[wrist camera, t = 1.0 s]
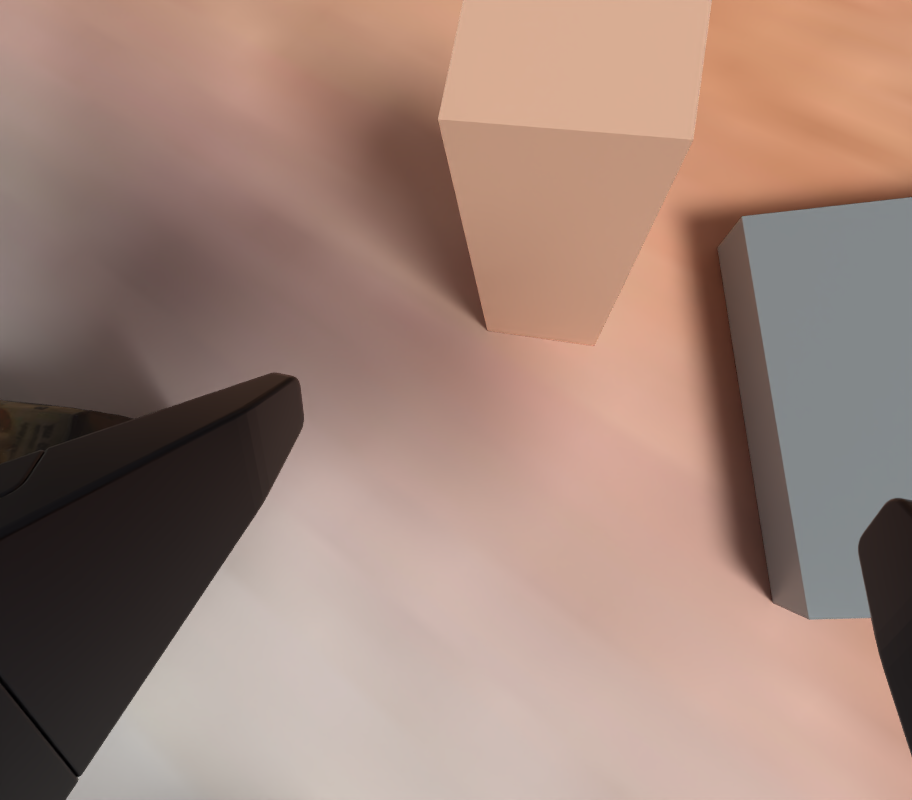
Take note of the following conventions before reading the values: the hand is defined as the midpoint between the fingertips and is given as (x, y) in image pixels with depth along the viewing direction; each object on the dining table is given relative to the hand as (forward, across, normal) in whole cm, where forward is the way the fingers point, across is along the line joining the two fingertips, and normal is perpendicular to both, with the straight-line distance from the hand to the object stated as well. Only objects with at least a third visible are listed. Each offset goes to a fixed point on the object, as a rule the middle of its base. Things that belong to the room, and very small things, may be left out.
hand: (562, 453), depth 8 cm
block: (+15, +1, +3) cm, 15 cm away
